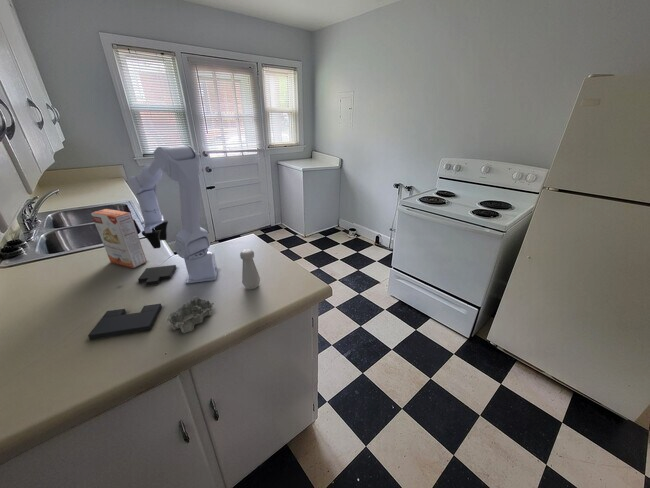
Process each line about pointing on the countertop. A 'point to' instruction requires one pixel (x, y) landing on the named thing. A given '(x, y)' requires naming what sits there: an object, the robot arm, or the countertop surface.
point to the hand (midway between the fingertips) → (160, 243)
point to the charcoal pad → (125, 322)
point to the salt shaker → (249, 270)
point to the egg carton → (190, 314)
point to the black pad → (157, 274)
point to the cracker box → (119, 237)
